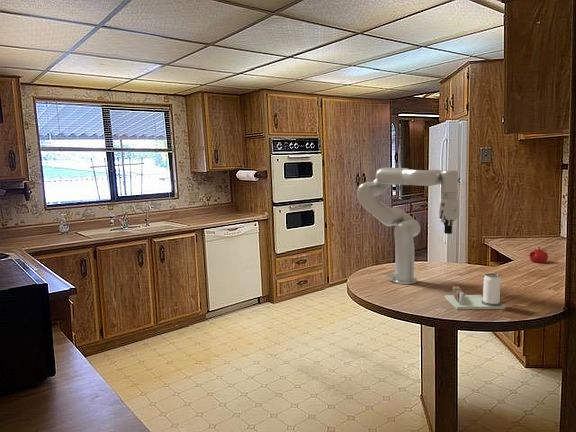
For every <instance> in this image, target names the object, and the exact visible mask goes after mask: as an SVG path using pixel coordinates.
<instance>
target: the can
mask: <svg viewBox="0 0 576 432" xmlns="http://www.w3.org/2000/svg"><path fill="white" fill-rule="evenodd" d="M483 283H484V287H483V286H482V287H483V301H484V302H485V303H487V304H499V302H501V301H500V300H501V299H500V298H501V296H500V295H501V277H500V274H497V273H491V272H490V273H485V274H484V277H483Z"/></svg>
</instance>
